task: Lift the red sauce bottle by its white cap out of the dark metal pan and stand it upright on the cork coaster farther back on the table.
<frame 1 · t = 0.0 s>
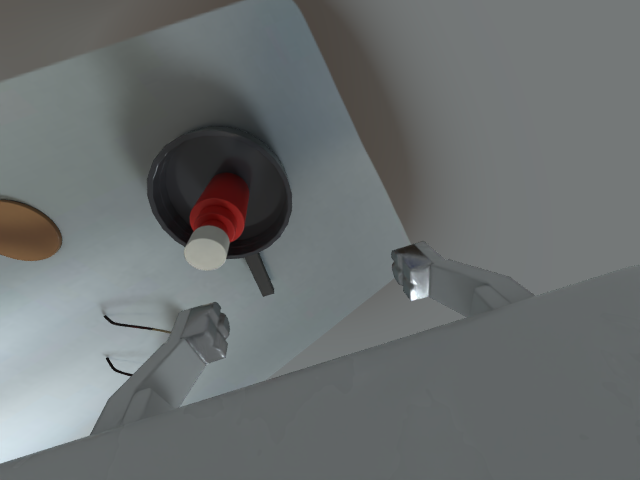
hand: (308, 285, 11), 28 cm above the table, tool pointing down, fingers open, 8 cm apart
sauce bottle: (229, 191, 35), resting on pan
coaster: (19, 231, 33), on the table
pan: (229, 190, 35), on the table
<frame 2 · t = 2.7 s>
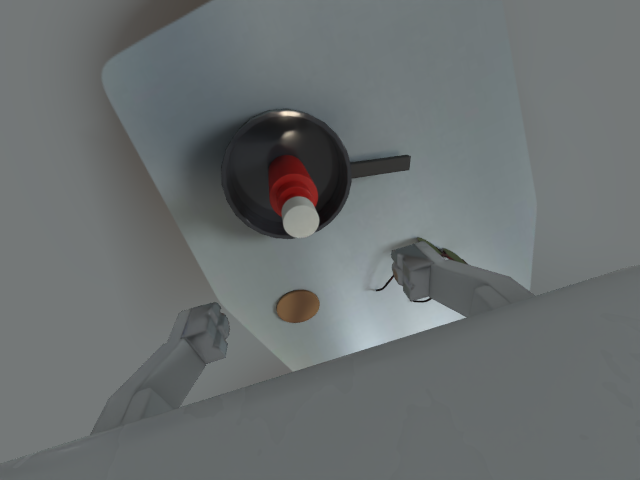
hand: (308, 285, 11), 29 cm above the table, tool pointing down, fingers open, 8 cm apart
sauce bottle: (287, 174, 36), resting on pan
coaster: (298, 305, 51), on the table
sunglasses: (413, 271, 53), on the table
pan: (286, 173, 37), on the table
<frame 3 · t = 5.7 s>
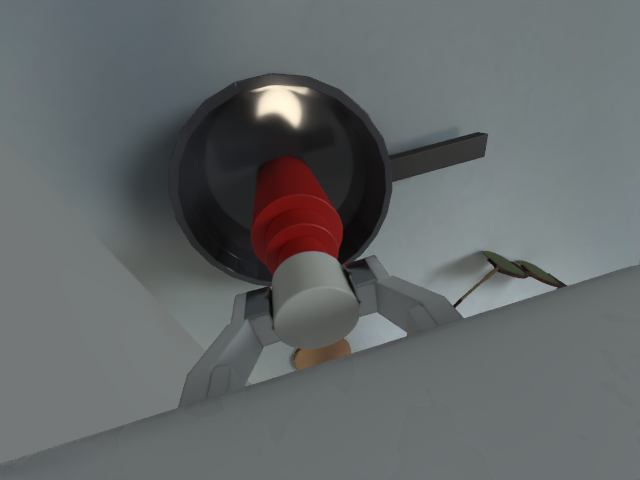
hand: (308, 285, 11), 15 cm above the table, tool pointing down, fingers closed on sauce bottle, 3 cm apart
sauce bottle: (286, 186, 23), point 1 cm above the table, touching gripper, pan
coaster: (322, 354, 38), on the table
sunglasses: (475, 293, 38), on the table
pan: (285, 184, 24), on the table
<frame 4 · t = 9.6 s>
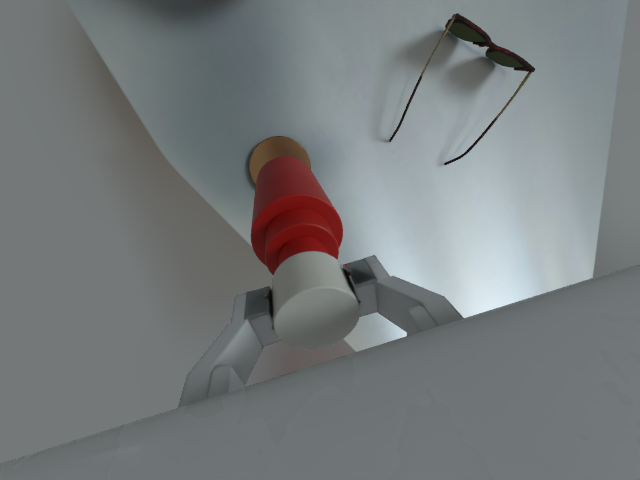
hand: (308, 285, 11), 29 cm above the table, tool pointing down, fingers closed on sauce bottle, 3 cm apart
sauce bottle: (286, 186, 23), point 15 cm above the table, touching gripper
coaster: (280, 168, 36), on the table
sunglasses: (442, 105, 36), on the table
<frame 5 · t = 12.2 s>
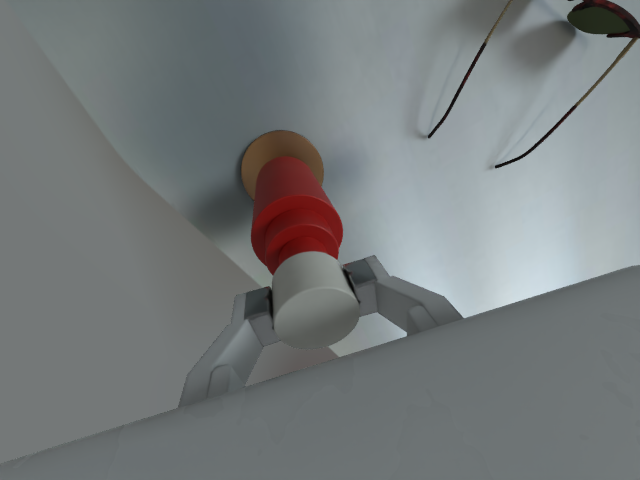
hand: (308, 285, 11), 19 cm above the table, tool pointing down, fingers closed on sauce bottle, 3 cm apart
sauce bottle: (286, 186, 23), point 5 cm above the table, touching gripper
coaster: (283, 173, 27), on the table
sunglasses: (500, 88, 27), on the table
when the fingers open (15 cm above the table, at t = 13.8 s): sauce bottle stays where it is, resting on coaster.
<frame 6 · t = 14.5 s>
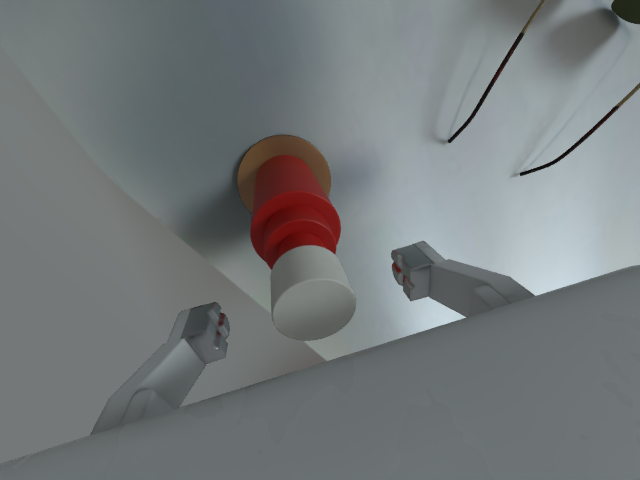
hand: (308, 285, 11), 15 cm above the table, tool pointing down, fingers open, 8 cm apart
sauce bottle: (285, 184, 23), point 1 cm above the table, touching coaster
coaster: (285, 183, 24), on the table
sunglasses: (531, 86, 24), on the table
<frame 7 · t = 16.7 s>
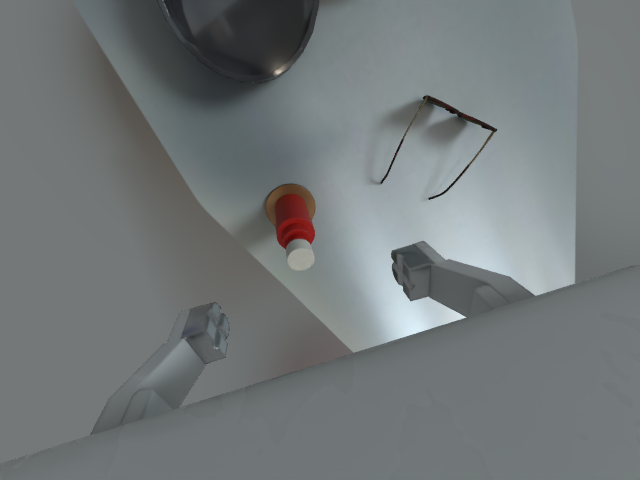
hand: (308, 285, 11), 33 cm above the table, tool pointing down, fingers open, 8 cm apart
sauce bottle: (290, 208, 44), point 1 cm above the table, touching coaster
coaster: (290, 207, 44), on the table
sunglasses: (424, 153, 44), on the table
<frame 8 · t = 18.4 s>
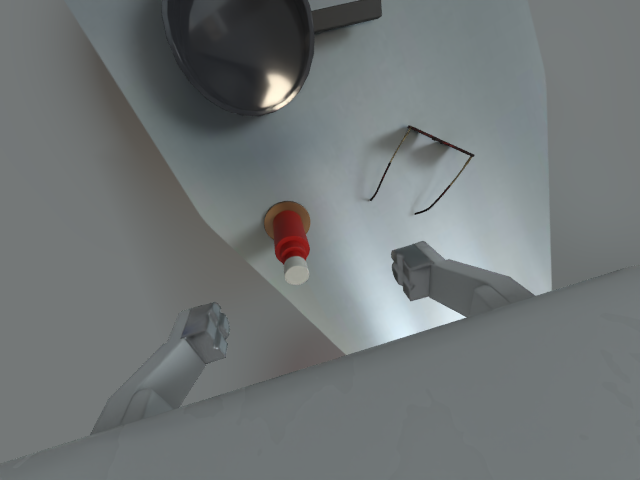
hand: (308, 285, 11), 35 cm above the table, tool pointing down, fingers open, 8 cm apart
sauce bottle: (287, 223, 47), point 1 cm above the table, touching coaster
coaster: (287, 222, 48), on the table
sunglasses: (410, 173, 48), on the table
pan: (246, 42, 33), on the table
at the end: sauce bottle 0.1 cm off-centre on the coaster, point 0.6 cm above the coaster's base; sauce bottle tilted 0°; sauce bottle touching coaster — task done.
